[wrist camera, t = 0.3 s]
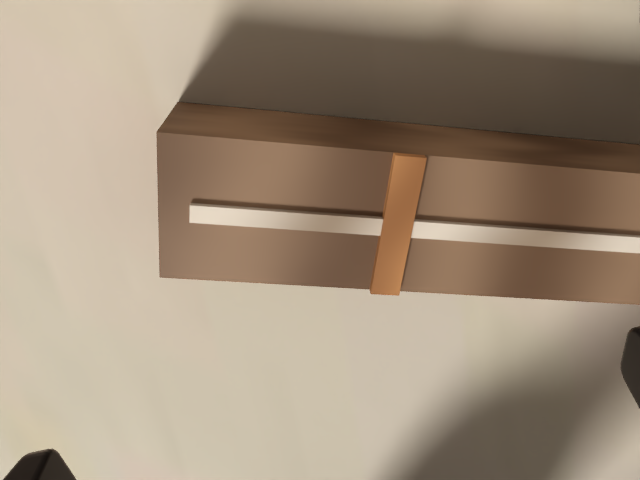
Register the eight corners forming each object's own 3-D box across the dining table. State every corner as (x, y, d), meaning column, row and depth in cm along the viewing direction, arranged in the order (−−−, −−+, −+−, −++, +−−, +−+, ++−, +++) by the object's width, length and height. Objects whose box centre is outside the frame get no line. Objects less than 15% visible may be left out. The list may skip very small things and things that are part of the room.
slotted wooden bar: (816, 161, 23) (925, 200, 19) (761, 265, 25) (849, 320, 21) (177, 101, 20) (154, 135, 16) (178, 226, 22) (157, 281, 18)
